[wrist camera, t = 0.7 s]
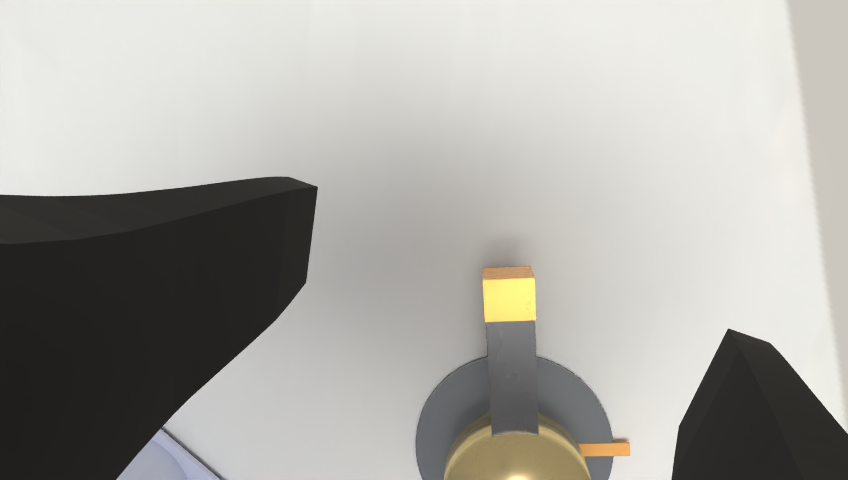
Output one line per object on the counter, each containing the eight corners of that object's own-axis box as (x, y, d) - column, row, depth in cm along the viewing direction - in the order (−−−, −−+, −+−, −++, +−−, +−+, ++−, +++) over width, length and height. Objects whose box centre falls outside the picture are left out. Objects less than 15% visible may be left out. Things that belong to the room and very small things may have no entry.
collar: (588, 539, 28) (598, 577, 25) (449, 539, 28) (445, 576, 26) (582, 263, 26) (592, 276, 23) (432, 269, 26) (427, 283, 24)
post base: (518, 569, 31) (521, 605, 29) (377, 448, 31) (368, 474, 28) (653, 443, 30) (668, 471, 27) (506, 314, 29) (509, 330, 27)
